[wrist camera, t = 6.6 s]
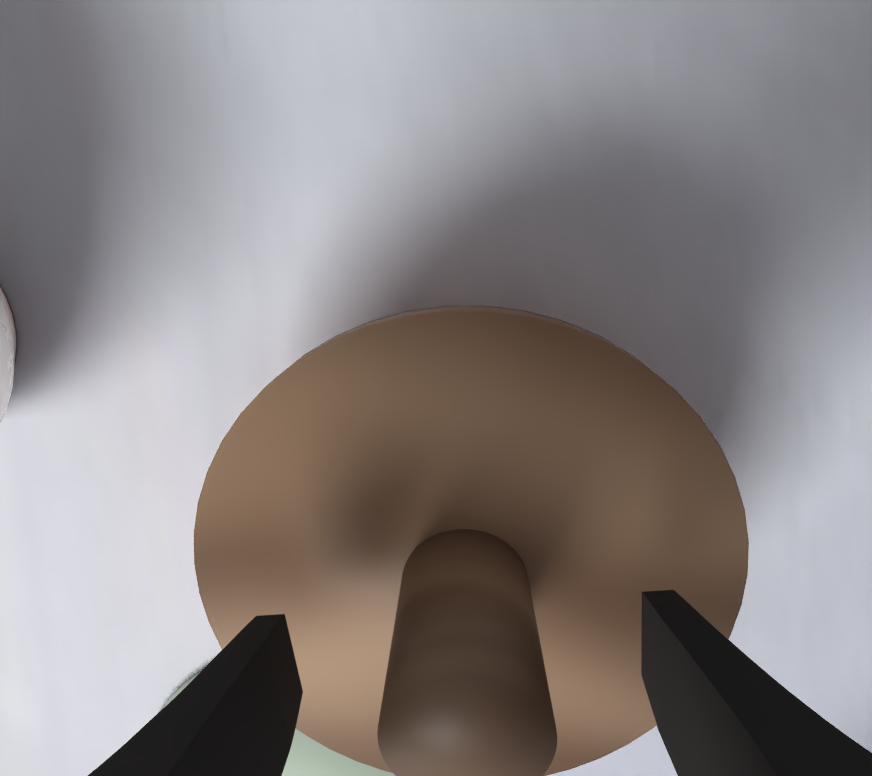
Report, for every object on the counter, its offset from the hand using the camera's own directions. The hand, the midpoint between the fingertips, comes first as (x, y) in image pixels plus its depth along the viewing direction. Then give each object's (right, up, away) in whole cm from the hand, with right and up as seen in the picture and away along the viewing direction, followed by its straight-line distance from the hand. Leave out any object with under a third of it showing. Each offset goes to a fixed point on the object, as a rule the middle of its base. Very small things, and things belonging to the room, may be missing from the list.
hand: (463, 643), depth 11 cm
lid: (0, +1, +3) cm, 3 cm away
